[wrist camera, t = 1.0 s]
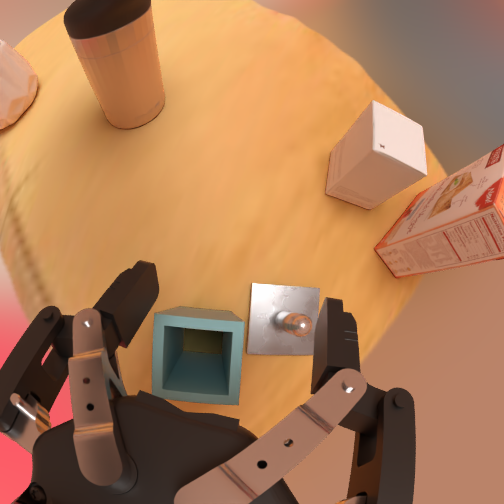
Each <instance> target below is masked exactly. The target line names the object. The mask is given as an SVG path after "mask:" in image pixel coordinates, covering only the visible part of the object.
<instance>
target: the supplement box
mask: <svg viewBox="0 0 504 504" xmlns="http://www.w3.org/2000/svg"><path fill="white" fill-rule="evenodd" d="M425 176H427V167H426V155H425V145H424V136H423V128H422V126H421V125H419V124H417V123H416V122H414V121H412V120H410V119H409V118H407V117H405V116H403V115H401V114H400V113H398V112H396V111H394V110H392V109H390V108H388V107H386V106H384V105H382V104H380V103H378V102H376V101H374V100H373V101H372V102H371V103H370V104H369V105H368V107H367V108H366V109H365V110H364V112H363V113H362V114H361V115H360V117H359V118H358V119H357V120H356V121H355V123H354V124H353V125H352V127H351V128H350V129H349V130H348V132H347V133H346V134H345V135H344V136H343V138H342V139H341V140H340V141H339V143H338V144H337V145H336V146H335V147H334V149H333V150H332V151H331V156H330V163H329V171H328V178H327V185H326V192H325V193H326V194H327V195H330V196H333V197H336V198H338V199H341V200H344V201H347V202H349V203H352V204H355V205H358V206H360V207H363V208H366V209H369V210H371V209H373V208H374V207H376V206H378V205H379V204H381V203H383V202H384V201H386V200H387V199H389V198H391V197H392V196H394V195H396V194H397V193H399V192H401V191H402V190H404V189H405V188H407V187H409V186H410V185H412V184H414V183H415V182H417V181H418V180H420V179H422V178H423V177H425Z"/></svg>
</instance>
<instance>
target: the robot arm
mask: <svg viewBox="0 0 504 504" xmlns="http://www.w3.org/2000/svg"><path fill="white" fill-rule="evenodd" d="M64 24H65V27H66V30H67V32H68V35H69V37H70V39H71V42H72V44H73V47H74V49H75V51H76V53H77V56H78V58H79V60H80V62H81V65H82V67H83V69H84V71H85V74H86V76H87V78H88V80H89V82H90V84H91V87H92V89H93V91H94V93H95V95H96V97H97V99H98V101H99V103H100V105H101V107H102V109H103V111H104V113H105V115H106V117H107V119H108V121H109V122H110V123H111V124H112V125H113V126H115V127H118V128H122V129H129V128H135V127H139V126H141V125H144V124H146V123H148V122H149V121H151V120H152V119H153V118H155V117H156V116H157V115H158V114H159V112H160V111H161V110H162V108H163V106H164V103H165V94H164V88H163V83H162V76H161V70H160V64H159V58H158V51H157V45H156V38H155V30H154V23H153V16H152V8H151V0H76V1H75V2H73V3H72V4H71V5H70V7H69V8H68V9H67V10H66V12H65V15H64ZM158 294H159V284H158V278H157V272H156V266H155V264H154V263H150V262H145V261H141V260H140V261H138V262H137V263H136V264H135V265H134V267H133V268H132V269H127V270H125V271H124V272H122V273H121V274H120V275H119V276H118V277H117V278H116V279H115V281H114V282H113V283H112V284H111V286H110V288H108V289H107V290H106V292H105V293H104V294H103V295H102V297H101V298H100V299H99V301H98V302H97V303H96V304H95V306H94V307H93V308H87V309H83V310H81V311H79V312H78V313H77V314H76V315H75V316H71V315H62V314H61V312H60V310H59V309H58V308H57V307H55V306H48V307H46V308H44V309H42V310H41V311H40V312H39V314H38V315H37V316H36V318H35V319H34V320H33V322H32V323H31V324H30V326H29V327H28V328H27V330H26V331H25V333H24V334H23V336H22V337H21V338H20V340H19V342H18V343H17V344H16V346H15V347H14V349H13V350H12V352H11V353H10V355H9V357H8V358H7V360H6V361H5V363H4V364H3V366H2V368H1V369H0V432H1V433H3V434H4V435H5V436H7V437H8V438H10V439H11V440H13V441H15V442H17V443H18V444H19V445H20V446H22V447H23V448H24V449H26V450H27V451H28V452H29V453H31V454H32V462H33V471H32V479H31V483H30V485H29V487H28V488H27V489H26V490H25V491H24V492H23V494H21V495H20V496H19V497H18V498H17V499H16V500H14V501H13V502H12V503H11V504H299V503H298V501H297V500H296V498H295V497H294V495H293V494H292V492H291V491H290V489H289V487H288V486H287V484H286V483H285V481H284V479H283V478H282V477H284V476H285V475H286V474H287V473H288V472H289V471H291V470H292V469H293V468H294V467H295V466H296V465H298V463H300V462H301V461H302V460H303V459H304V458H305V457H306V456H307V455H308V454H309V453H311V452H312V451H313V450H314V449H315V448H316V447H317V446H318V445H319V444H320V443H321V442H322V441H323V440H324V439H325V438H326V437H327V436H328V435H329V434H330V433H331V431H332V430H333V429H334V428H335V427H336V426H337V425H340V426H342V427H345V428H348V429H350V430H353V431H355V432H356V433H355V442H354V452H353V460H352V468H351V475H350V482H349V488H348V494H347V499H344V500H341V501H339V502H337V503H336V504H412V502H413V494H414V493H413V492H414V481H415V480H414V479H415V454H416V452H415V451H416V441H415V440H416V439H415V438H416V434H415V411H414V410H415V409H414V401H413V397H412V396H411V394H410V393H409V392H408V391H406V390H405V389H402V388H393V389H391V390H389V391H388V392H385V391H383V390H380V389H378V388H375V387H373V386H371V385H369V384H368V383H367V382H366V380H365V378H364V376H363V375H362V374H361V372H360V360H359V346H358V335H357V324H356V321H355V319H354V317H353V316H352V314H351V313H348V312H343V302H342V300H340V299H334V298H328V297H326V298H325V300H324V302H323V305H322V308H321V311H320V314H319V317H318V319H317V323H316V327H315V337H314V355H313V370H312V383H311V394H314V395H313V396H312V397H311V398H310V399H309V400H308V401H307V402H306V403H305V404H303V405H300V406H298V407H297V408H296V409H295V410H293V411H292V412H291V413H290V414H289V415H288V416H286V417H285V418H284V419H283V420H282V421H280V422H279V423H278V424H277V425H276V426H274V427H273V428H272V429H271V430H269V431H268V432H267V433H265V434H264V435H263V436H262V437H260V438H259V439H258V438H257V437H256V436H255V435H254V434H253V433H251V432H250V431H249V430H247V429H245V428H244V427H242V426H239V419H235V418H230V417H226V416H222V415H218V414H214V413H191V412H184V411H182V410H180V409H179V408H177V407H175V406H174V405H172V404H171V403H169V402H167V401H166V400H164V399H163V398H160V397H157V396H155V395H152V394H149V393H146V392H144V391H141V390H139V393H138V395H137V396H136V395H129V396H128V395H127V393H126V390H125V388H124V385H123V381H122V377H121V372H120V367H119V361H118V356H117V351H116V349H117V347H118V346H122V347H125V348H127V347H128V345H129V344H130V342H131V340H132V339H133V337H134V335H135V334H136V332H137V330H138V329H139V327H140V325H141V324H142V322H143V320H144V319H145V317H146V316H147V314H148V312H149V311H150V309H151V307H152V306H153V304H154V303H155V301H156V299H157V297H158ZM50 346H52V347H53V349H52V350H51V352H50V354H49V355H48V357H47V358H46V360H45V362H44V363H43V365H41V361H42V358H43V357H44V355H45V353H46V352H47V350H48V349H49V347H50ZM68 375H69V382H70V393H71V403H72V411H73V419H71V420H69V421H67V422H65V423H62V424H60V425H58V426H56V427H53V428H51V423H50V416H49V412H50V409H51V407H52V405H53V403H54V401H55V399H56V397H57V395H58V394H59V392H60V390H61V388H62V386H63V384H64V382H65V380H66V378H67V377H68Z"/></svg>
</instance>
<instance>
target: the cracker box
mask: <svg viewBox="0 0 504 504" xmlns="http://www.w3.org/2000/svg"><path fill="white" fill-rule="evenodd" d="M374 249H375V251H376V252H377V253H378V255H379V256H380V257H381V258H382V260H383V261H384V262H385V264H386V265H387V266H388V268H389V269H390V270H391V272H392V273H393V274H394V276H395V277H396V278H401V277H407V276H413V275H420V274H426V273H431V272H437V271H443V270H448V269H454V268H460V267H464V266H470V265H475V264H480V263H485V262H490V261H495V260H500V259H504V144H503V145H501V146H500V147H498V148H497V149H495V150H493V151H491V152H490V153H488V154H487V155H485V156H483V157H482V158H480V159H479V160H477V161H475V162H473V163H472V164H470V165H468V166H466V167H465V168H463V169H461V170H459V171H458V172H456V173H454V174H452V175H451V176H449V177H447V178H446V179H444V180H442V181H440V182H439V183H437V184H435V185H433V186H431V187H430V188H428V189H426V190H424V191H423V192H421V193H419V194H418V195H417V196H416V198H415V199H414V200H413V202H412V203H411V204H410V206H409V207H408V208H407V209H406V211H405V212H404V213H403V214H402V216H401V217H400V218H399V219H398V221H397V222H396V223H395V224H394V226H393V227H392V228H391V229H390V230H389V232H388V233H387V234H386V235H385V236H384V238H383V239H382V240H381V241H380V242H379V244H378V245H377V246H376V247H375V248H374Z"/></svg>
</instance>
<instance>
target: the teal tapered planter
mask: <svg viewBox="0 0 504 504" xmlns="http://www.w3.org/2000/svg"><path fill="white" fill-rule="evenodd" d="M244 325H245V322H244V321H243V320H241V319H240V318H239V317H238V316H236V315H235V314H234V313H232V312H231V311H223V310H212V309H201V308H191V307H181V306H179V307H176V308H172V309H168V310H165V311H161V312H157V313H154V329H153V352H152V395H155V396H157V397H160V398H163V399H169V400H177V401H186V402H196V403H208V404H223V405H239V393H240V379H241V366H242V352H243V338H244ZM184 328H192V329H202V330H213V331H223V338H222V353H221V354H214V353H202V352H192V351H183V345H184Z"/></svg>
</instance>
